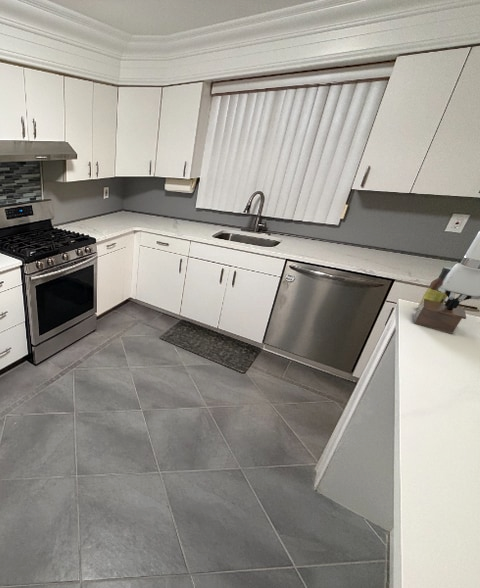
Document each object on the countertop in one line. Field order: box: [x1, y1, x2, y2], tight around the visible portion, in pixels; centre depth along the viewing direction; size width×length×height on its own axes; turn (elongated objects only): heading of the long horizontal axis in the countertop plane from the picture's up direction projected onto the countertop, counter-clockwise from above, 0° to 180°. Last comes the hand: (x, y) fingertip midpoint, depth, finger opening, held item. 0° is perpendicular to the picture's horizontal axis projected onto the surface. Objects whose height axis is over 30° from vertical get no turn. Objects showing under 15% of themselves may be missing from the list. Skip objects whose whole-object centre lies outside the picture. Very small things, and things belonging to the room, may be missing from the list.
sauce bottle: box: [416, 266, 453, 311], centre depth 127 cm, size 7×6×20 cm
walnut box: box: [413, 301, 463, 335], centre depth 121 cm, size 10×10×7 cm
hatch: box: [423, 299, 467, 320], centre depth 119 cm, size 11×10×1 cm
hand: (448, 308), depth 118 cm, fingers closed
